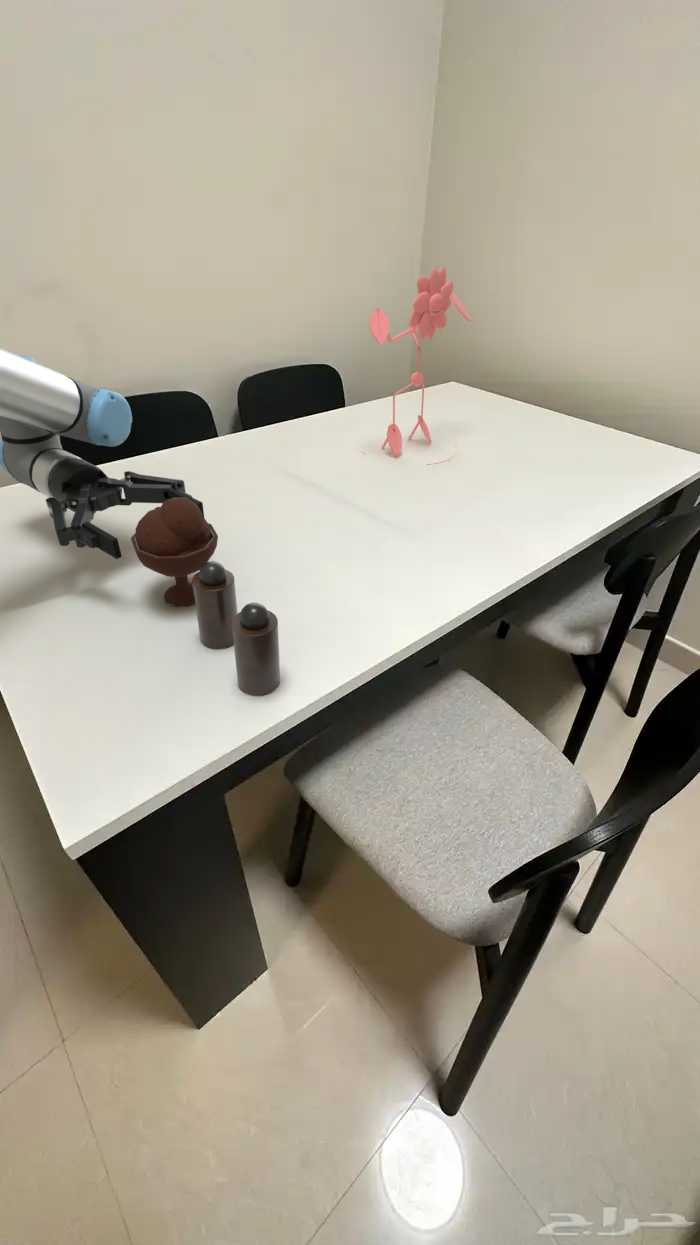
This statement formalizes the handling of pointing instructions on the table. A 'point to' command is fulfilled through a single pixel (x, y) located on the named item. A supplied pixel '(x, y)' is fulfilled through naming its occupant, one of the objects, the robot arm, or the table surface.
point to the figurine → (428, 316)
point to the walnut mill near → (256, 649)
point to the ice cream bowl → (175, 545)
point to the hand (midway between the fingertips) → (161, 529)
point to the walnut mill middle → (215, 604)
